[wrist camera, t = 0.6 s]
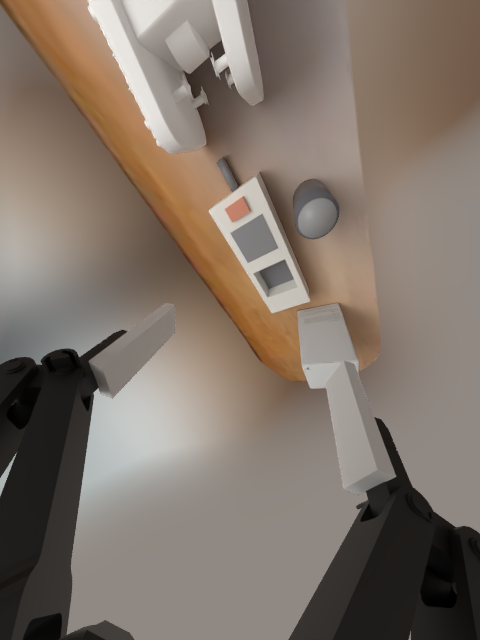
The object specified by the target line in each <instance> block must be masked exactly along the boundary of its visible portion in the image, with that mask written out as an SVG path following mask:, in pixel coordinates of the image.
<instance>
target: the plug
mask: <svg viewBox="0 0 480 640" xmlns="http://www.w3.org/2000/svg"><path fill="white" fill-rule="evenodd" d="M293 207H294V216H295V225H296V229H297V231H298V232H299V234H300V235H302V236H303V237H305V238H308V239H317V238H320V237H323V236H325V235H326V234H328V233H329V232H330V231H331V230H332V229H333V228H334V226H335V224H336V223H337V220H338V217H339V206H338V204H337V202H336V200H335V199H334V198H333V196H332V195H331V194H330V193H329V191H328V190H327V189H326V188H325V186H324V185H323V184H322V183H321V182H320V181H319V180H316V179H309V180H306V181H304V182H303V183H301V184H300V185H299V186H298V188H297V189H296V191H295V193H294V197H293Z"/></svg>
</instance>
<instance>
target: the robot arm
mask: <svg viewBox="0 0 480 640" xmlns="http://www.w3.org/2000/svg"><path fill="white" fill-rule="evenodd" d="M174 333H175V305H172V304H169V303H165V304H164V305H163V306H161V307H160V308H158V309H157V310H156V311H155V312H153V313H152V314H151V315H149V316H148V317H147V318H145V319H144V320H143V321H141V322H140V323H139V324H137V325H136V326H135V327H133V328H132V329H131V330H129V331H125V330H121V331H118V332H116V333H113V334H112V335H111V336H109V337H108V338H107V339H105V340H103V341H102V342H101V343H100V344H98V345H96V346H95V347H94V348H92V349H91V350H89V351H88V352H86V353H85V354H84V355H82V356H81V357H79V356H78V354H77V352H76V351H75V350H72V349H60V350H55V351H53V352H51V353H49V354H47V355H46V356H44V357H43V358H42V360H41V363H42V365H36V363H35V361H34V360H33V359H31V358H28V357H20V358H15V359H11V360H9V361H6V362H4V363H3V364H1V365H0V477H1V476H2V474H3V473H4V471H5V470H6V468H7V467H8V465H9V463H10V462H11V460H12V459H13V457H14V456H15V454H16V453H17V454H16V457H15V459H14V462H13V465H12V467H11V470H10V472H9V475H8V478H7V480H6V483H5V486H4V488H3V491H2V494H1V496H0V640H134V639H133V637H132V636H131V634H130V633H129V632H127V631H125V630H123V629H121V628H119V627H117V626H115V625H113V624H112V623H109V622H108V621H106V620H105V621H103V622H101V623H99V624H97V625H91V626H87V627H83V628H81V629H79V630H77V631H74V632H72V633H70V634H68V635H66V633H67V626H68V618H69V609H70V602H71V593H72V574H71V557H72V550H73V543H74V536H75V529H76V521H77V514H78V507H79V500H80V493H81V485H82V478H83V471H84V464H85V456H86V449H87V442H88V435H89V427H90V421H91V413H92V406H93V399H94V394H93V392H94V391H96V390H97V388H99V391H100V393H101V394H102V395H105V396H107V397H110V398H113V397H114V396H115V395H116V394H117V393H118V392H119V391H120V390H121V389H122V388H123V387H124V386H125V385H126V384H127V383H128V382H129V381H130V379H131V378H132V377H133V376H134V375H135V374H136V373H137V372H138V371H139V370H140V369H141V368H142V367H143V366H144V365H145V364H146V363H147V361H149V359H150V358H151V357H152V356H153V355H154V354H155V353H156V352H157V351H158V350H159V349H160V348H161V347H162V346H163V345H164V343H166V342H167V341H168V339H169V338H170V337H171V336H172V335H173V334H174ZM326 389H327V394H328V401H329V407H330V412H331V418H332V424H333V430H334V436H335V442H336V448H337V454H338V460H339V466H340V471H341V477H342V483H343V489H344V490H347V491H350V492H352V493H355V494H357V495H360V494H362V493H364V492H366V493H367V496H368V500H367V501H365V502H363V503H361V504H359V505H357V506H356V507H357V509H360V508H362V509H361V510H360V512H359V514H358V516H357V518H356V519H355V521H354V523H353V525H352V527H351V528H350V530H349V532H348V534H347V536H346V538H345V539H344V541H343V543H342V545H341V546H340V549H339V550H338V552H337V554H336V555H335V557H334V559H333V561H332V563H331V564H330V566H329V568H328V570H327V572H326V574H325V575H324V577H323V579H322V581H321V582H320V584H319V586H318V588H317V590H316V592H315V593H314V595H313V597H312V599H311V600H310V602H309V604H308V606H307V608H306V609H305V611H304V613H303V615H302V617H301V618H300V620H299V622H298V624H297V626H296V627H295V629H294V631H293V633H292V635H291V636H290V638H289V640H408V639H409V635H410V631H411V640H480V534H479V533H478V532H477V531H475V530H474V529H472V528H470V527H466V526H461V527H455V526H453V525H452V524H450V523H449V522H448V521H446V520H445V519H443V518H442V517H441V516H439V515H438V514H436V513H435V512H433V510H432V508H431V506H430V505H429V503H428V502H427V500H426V499H425V498H424V497H423V496H422V495H421V494H420V493H419V492H418V491H417V490H415V489H414V488H413V487H412V485H411V483H410V480H409V478H408V475H407V473H406V471H405V468H404V466H403V463H402V461H401V459H400V456H399V454H398V451H396V447H395V444H394V442H393V439H392V437H391V435H390V432H389V430H388V428H387V427H386V426H385V424H384V423H383V421H382V420H381V419H378V418H375V417H374V415H373V413H372V410H371V408H370V405H369V402H368V399H367V397H366V394H365V392H364V389H363V386H362V383H361V381H360V378H359V375H358V372H357V370H356V367H355V364H353V363H350V362H347V361H344V360H343V362H342V363H341V364H340V366H339V367H338V368H337V370H336V371H335V372H334V374H333V375H332V376H331V377H330V379H329V380H328V381H327V383H326Z"/></svg>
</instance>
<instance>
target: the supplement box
mask: <svg viewBox="0 0 480 640" xmlns="http://www.w3.org/2000/svg"><path fill="white" fill-rule="evenodd" d="M297 315H298V327H299V339H300V351H301V364H302V368H303V371H304V373H305V376H306V378H307V381H308V384H309V386H310V388H311V389H313V388H326V383H327V381H328V380H329V379H330V377H331V376H332V375H333V374H334V372H335V371H336V370H337V368H338V367H339V366H340V364H341V363H342V362H343V360H344V361H347V362H350V363H353V364H355V367H356V370H357V372H358V371H359V360H358V357H357V355H356V352H355V349H354V346H353V343H352V340H351V337H350V334H349V331H348V329H347V326H346V323H345V320H344V317H343V314H342V311H341V308H340V305H339V303H335V304H330V305H324V306H319V307H314V308H309V309H304V310H299V311H297Z"/></svg>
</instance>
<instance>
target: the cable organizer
mask: <svg viewBox="0 0 480 640" xmlns="http://www.w3.org/2000/svg"><path fill="white" fill-rule="evenodd" d="M87 1H88V3H89V4H90V5H89V6H88V9H89V11H90V13H91V15H92V17H93V18H94V20H95V21H96V22H97V23H98V24H100V26H101V27H100V28H101V30H103V35H104V36H106V38H107V40H108V41H107V42H108V45H109V47H110V48H111V49H112V51H113V54H112V56H113V57H115V59H116V61H118V63H119V67H120V69H121V71H122V72H123V73H124V75H125V78H126V82H127V84H128V85H129V86H130V88H128V89H129V90H131V92H132V93H133V94H134V96H135V100H136V102H137V103H138V104H139V106H140V110H142V111H141V112H142V114H143V115H144V117H145V119H146V121H144V123H145V125H146V127H147V128H148V129H149V130H152V134H154V135H153V137H154V138H156V139H157V140H156V143H157V145H158V146H159V147H160V148H164V149H165V151H167V152H168V153H169V154H178V153H185V152H192V151H197V150H198V149H200V148H202V147H203V146H205V145H206V135H205V131H204V127H203V124H202V121H201V118H200V115H199V113H198V110H197V107H199V106H200V105H202V104H203V103H205V104H206V103H207V104H208V105H209V103H208V100H207V95H206V94H205V93H204V91H203V88H202V86H201V88H202V91H200V92H201V95H199V96H198V97H197V98H195V99H194V98H193V96H192V93H191V86H190V85H189V84H188V81H187V79H186V76H185V73H184V71H185V72H187V73H188V74H191V73H192V72H193V71H194V70H195V69H196V68H197V67H198V66H199V65H201V64H202V63H203V62H204V61H205V60H206V59H207V58H208V57H209V56H210V52H209V50H210V49H211V48H212V47H213V46H215V45H216V44H217V43H218V42H220V41H221V40H222V42H223V46H224V50H225V54H224V55H223V56H221V57H220V58H219V59H217V60H216V61H214V58H213V55H212V58H210V59H211V62H212V64H213V67H214V70H215V73H216V76H218V77H219V78H220V76H219V73H220V72H221V71H223V70H224V69H225V72H226V68H227V67H228V66H229V68H230V71H231V73H230V74H229V75H227V72H226V73H225V77H226V80H227V83H228V86H229V88H231V84H233V83H235V86H236V88H237V91H238V93H239V94H240V96H241V97H242V98H243V99H245V100H246V101H247V102H248V103H249V104H250V105H251V106H254V105H256V104H257V103H259V102H261V101H262V100H263V99H264V93H263V84H262V77H261V71H260V65H259V60H258V55H257V49H256V44H255V39H254V34H253V28H252V23H251V18H250V12H249V7H248V2H247V0H87ZM211 54H212V52H211ZM220 80H221V79H220ZM231 90H232V88H231ZM209 107H210V106H209Z"/></svg>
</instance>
